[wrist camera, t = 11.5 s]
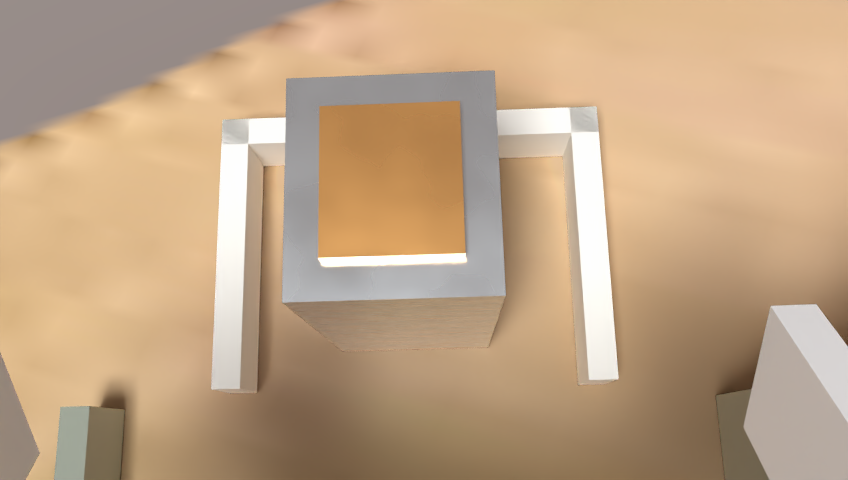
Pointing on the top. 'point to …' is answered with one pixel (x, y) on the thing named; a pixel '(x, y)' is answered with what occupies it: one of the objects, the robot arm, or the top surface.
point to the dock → (517, 138)
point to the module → (394, 210)
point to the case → (103, 429)
